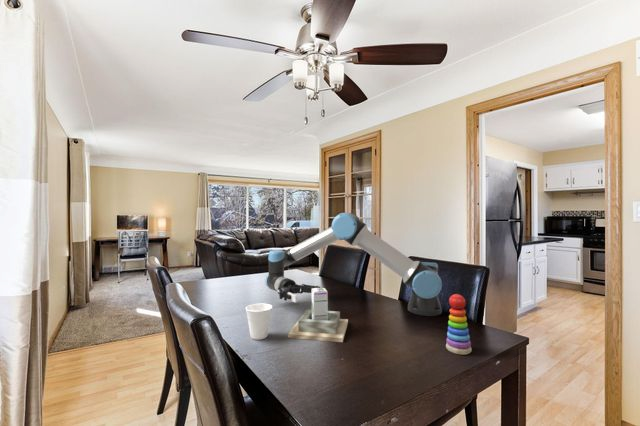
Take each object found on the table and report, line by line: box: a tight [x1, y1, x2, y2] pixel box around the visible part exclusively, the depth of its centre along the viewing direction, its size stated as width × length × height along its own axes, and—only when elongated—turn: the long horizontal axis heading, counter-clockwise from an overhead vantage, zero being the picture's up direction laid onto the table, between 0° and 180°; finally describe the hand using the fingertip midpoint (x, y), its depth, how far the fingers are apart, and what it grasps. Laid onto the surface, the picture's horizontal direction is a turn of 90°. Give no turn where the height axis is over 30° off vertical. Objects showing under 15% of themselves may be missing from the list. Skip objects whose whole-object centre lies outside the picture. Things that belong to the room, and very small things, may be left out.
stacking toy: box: [445, 293, 473, 355], centre depth 105 cm, size 8×8×19 cm
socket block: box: [287, 309, 349, 343], centre depth 123 cm, size 20×20×6 cm
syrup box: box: [311, 287, 329, 320], centre depth 123 cm, size 6×6×14 cm
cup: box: [245, 303, 273, 341], centre depth 116 cm, size 10×10×11 cm
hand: (310, 296), depth 128 cm, fingers open, 13 cm apart
